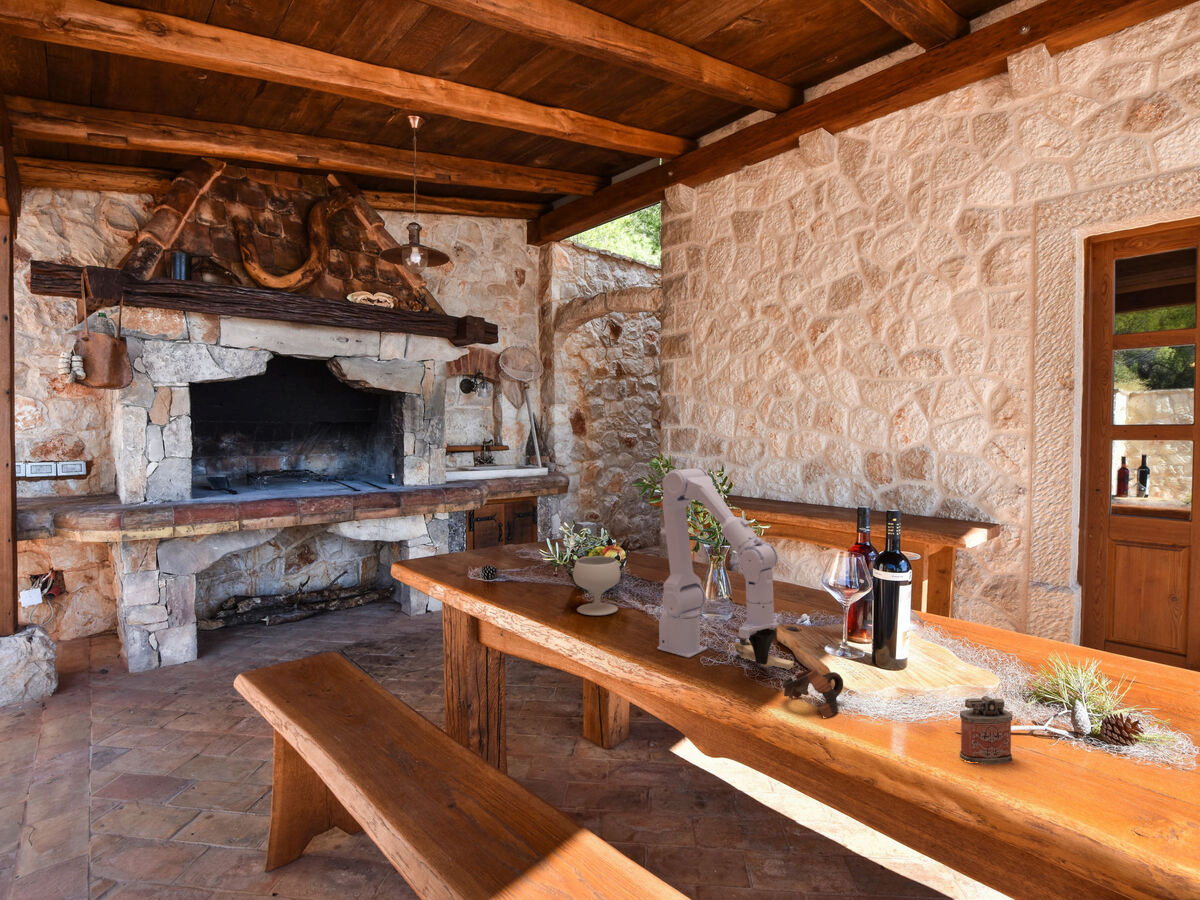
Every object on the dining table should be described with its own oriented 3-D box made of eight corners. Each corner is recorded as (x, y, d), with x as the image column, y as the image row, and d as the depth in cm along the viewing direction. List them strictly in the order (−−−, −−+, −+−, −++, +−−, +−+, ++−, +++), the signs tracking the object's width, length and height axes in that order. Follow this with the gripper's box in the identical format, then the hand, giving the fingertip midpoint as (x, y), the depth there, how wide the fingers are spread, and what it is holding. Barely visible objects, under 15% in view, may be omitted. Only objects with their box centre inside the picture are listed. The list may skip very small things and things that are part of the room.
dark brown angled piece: (815, 727, 118) (793, 683, 120) (789, 728, 126) (769, 687, 129) (863, 698, 122) (841, 656, 125) (835, 701, 131) (814, 662, 133)
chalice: (573, 618, 184) (572, 566, 183) (573, 604, 198) (572, 555, 197) (622, 616, 185) (621, 564, 184) (619, 603, 199) (618, 554, 198)
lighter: (1003, 752, 107) (1003, 692, 106) (1017, 763, 103) (1017, 701, 103) (955, 754, 106) (955, 694, 106) (967, 765, 103) (967, 703, 103)
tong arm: (735, 648, 152) (734, 642, 152) (748, 646, 153) (748, 640, 153) (762, 667, 140) (762, 660, 140) (777, 665, 141) (777, 659, 141)
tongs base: (733, 657, 152) (733, 636, 151) (740, 653, 154) (740, 633, 154) (787, 671, 142) (787, 649, 142) (794, 667, 145) (794, 646, 145)
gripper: (759, 610, 132) (761, 677, 132) (792, 596, 142) (794, 657, 143) (729, 605, 137) (731, 669, 137) (763, 592, 147) (765, 651, 147)
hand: (761, 663), depth 140 cm, fingers closed, pressing on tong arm
